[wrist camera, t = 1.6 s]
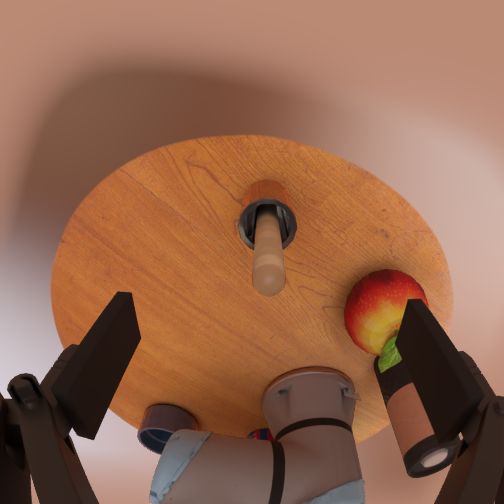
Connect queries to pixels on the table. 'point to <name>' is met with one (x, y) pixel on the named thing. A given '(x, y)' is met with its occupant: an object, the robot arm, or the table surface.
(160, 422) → the bowl
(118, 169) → the table surface
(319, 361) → the table surface
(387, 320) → the fruit
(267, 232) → the stick
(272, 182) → the holder
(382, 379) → the travel mug
